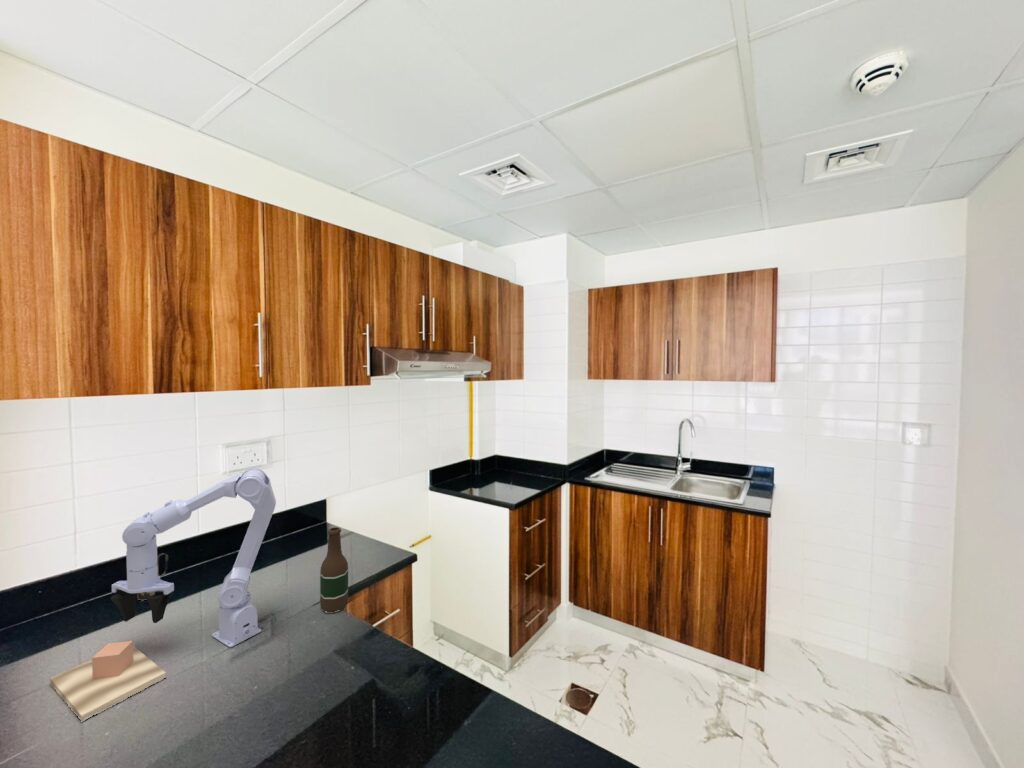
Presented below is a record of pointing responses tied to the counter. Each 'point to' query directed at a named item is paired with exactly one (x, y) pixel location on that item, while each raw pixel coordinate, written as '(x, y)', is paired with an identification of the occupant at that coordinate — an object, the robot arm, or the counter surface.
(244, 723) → the counter surface
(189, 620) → the counter surface
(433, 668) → the counter surface
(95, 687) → the birch board
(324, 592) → the beer bottle
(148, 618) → the counter surface
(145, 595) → the mug
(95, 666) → the terracotta cube
